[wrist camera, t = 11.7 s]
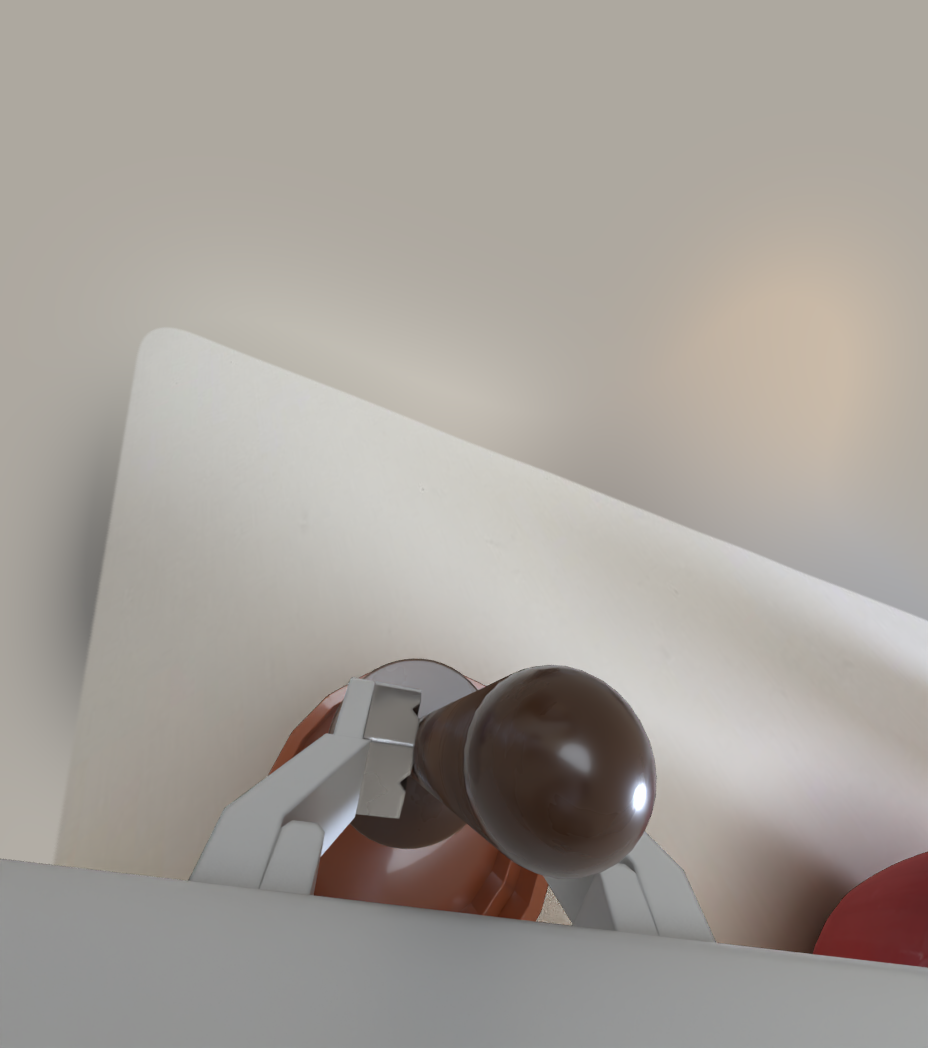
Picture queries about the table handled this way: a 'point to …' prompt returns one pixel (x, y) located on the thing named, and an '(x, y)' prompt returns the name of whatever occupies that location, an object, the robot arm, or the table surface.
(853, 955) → the mixing bowl
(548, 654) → the table surface
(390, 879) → the bowl
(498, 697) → the masher
